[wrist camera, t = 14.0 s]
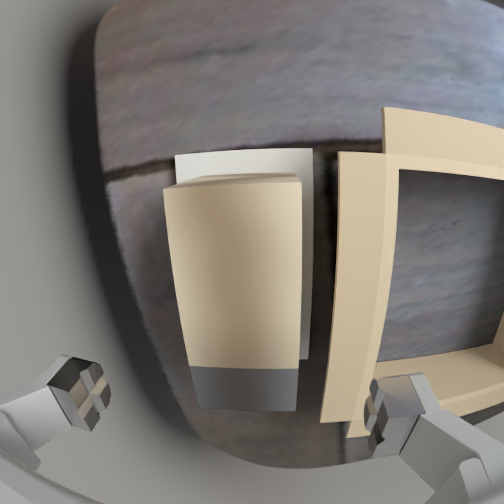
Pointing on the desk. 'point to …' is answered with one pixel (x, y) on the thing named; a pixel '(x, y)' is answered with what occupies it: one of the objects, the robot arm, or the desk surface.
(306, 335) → the mat
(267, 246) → the box
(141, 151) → the desk surface
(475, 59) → the desk surface
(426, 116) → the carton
